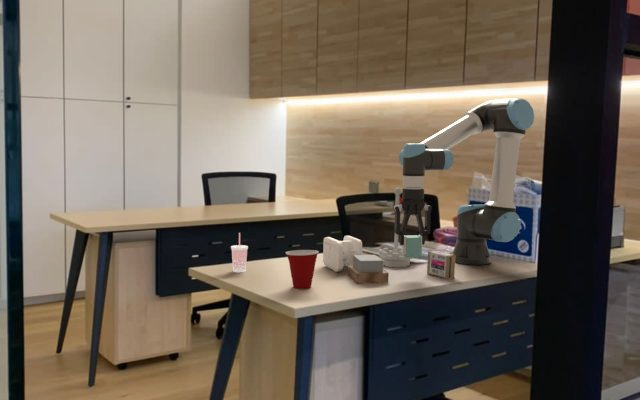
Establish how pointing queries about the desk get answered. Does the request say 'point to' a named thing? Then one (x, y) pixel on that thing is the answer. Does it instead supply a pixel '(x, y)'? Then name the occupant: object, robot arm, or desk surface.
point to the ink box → (441, 264)
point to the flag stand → (395, 255)
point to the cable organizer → (340, 252)
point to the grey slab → (367, 263)
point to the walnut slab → (367, 276)
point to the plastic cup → (302, 267)
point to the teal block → (413, 246)
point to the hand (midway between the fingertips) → (411, 253)
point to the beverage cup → (239, 257)
